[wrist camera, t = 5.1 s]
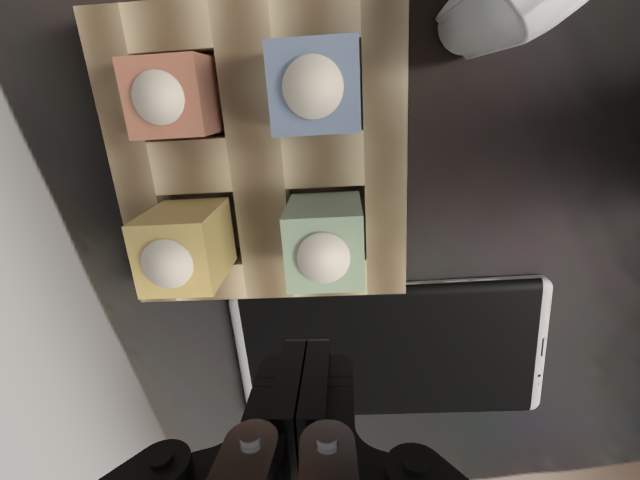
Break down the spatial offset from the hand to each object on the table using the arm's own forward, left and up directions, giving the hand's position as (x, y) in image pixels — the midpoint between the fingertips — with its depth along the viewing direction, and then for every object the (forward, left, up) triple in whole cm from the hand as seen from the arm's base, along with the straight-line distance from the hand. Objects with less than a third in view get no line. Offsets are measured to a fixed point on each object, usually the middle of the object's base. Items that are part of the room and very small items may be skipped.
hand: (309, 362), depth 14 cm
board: (+4, -4, -21) cm, 21 cm away
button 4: (0, 0, -16) cm, 16 cm away
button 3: (0, -9, -16) cm, 18 cm away
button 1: (+9, -9, -19) cm, 23 cm away
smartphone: (-5, +14, -21) cm, 26 cm away
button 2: (+9, 0, -16) cm, 19 cm away
